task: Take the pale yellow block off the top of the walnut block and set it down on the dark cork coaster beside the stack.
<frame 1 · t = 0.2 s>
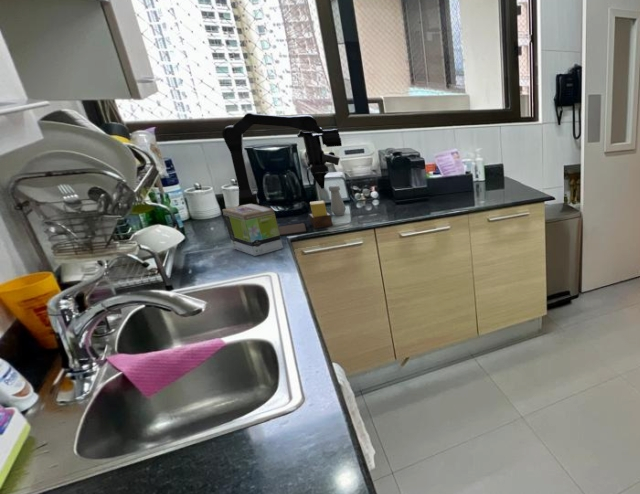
hand: (321, 186, 193), 14 cm above the worktop, tool pointing down, fingers open, 9 cm apart
walnut block: (322, 225, 191), on the worktop, touching yellow block
tea box: (258, 249, 166), on the worktop
salt shaker: (339, 214, 206), on the worktop
coaster: (288, 230, 185), on the worktop
yellow block: (319, 214, 190), point 4 cm above the worktop, touching walnut block
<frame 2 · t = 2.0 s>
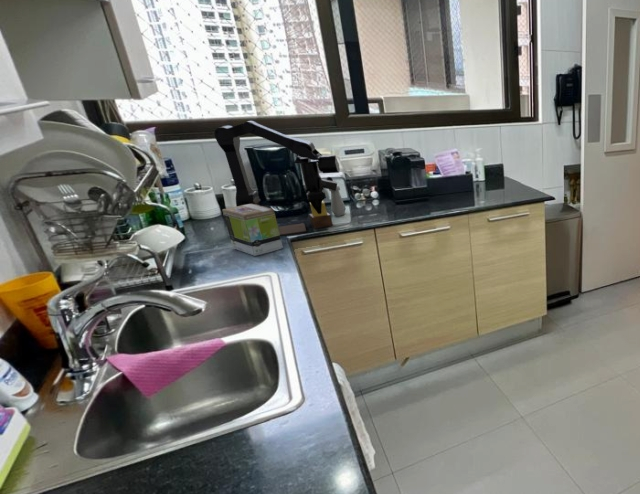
hand: (319, 212, 189), 6 cm above the worktop, tool pointing down, fingers closed on yellow block, 5 cm apart
yellow block: (319, 214, 190), point 4 cm above the worktop, touching gripper, walnut block
everything else where it was.
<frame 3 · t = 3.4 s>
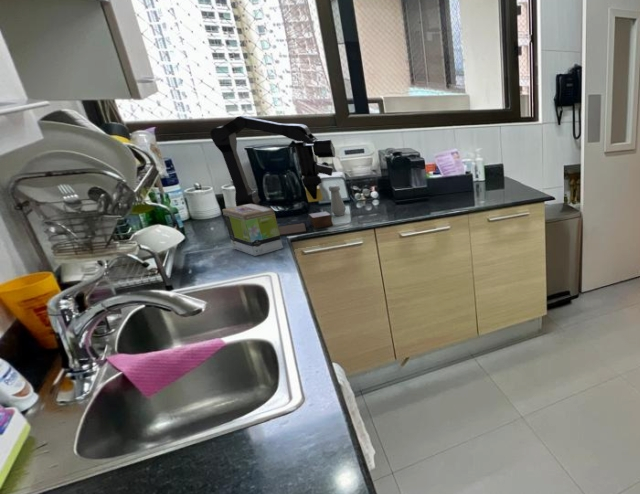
hand: (314, 197, 187), 12 cm above the worktop, tool pointing down, fingers closed on yellow block, 5 cm apart
walnut block: (322, 224, 191), on the worktop
yellow block: (315, 199, 187), point 11 cm above the worktop, touching gripper
everything else where it was.
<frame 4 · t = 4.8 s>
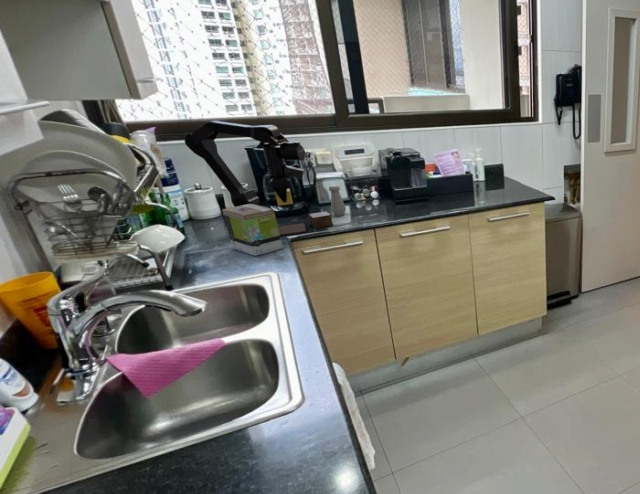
hand: (284, 200, 181), 12 cm above the worktop, tool pointing down, fingers closed on yellow block, 5 cm apart
yellow block: (285, 203, 181), point 11 cm above the worktop, touching gripper
everything else where it was.
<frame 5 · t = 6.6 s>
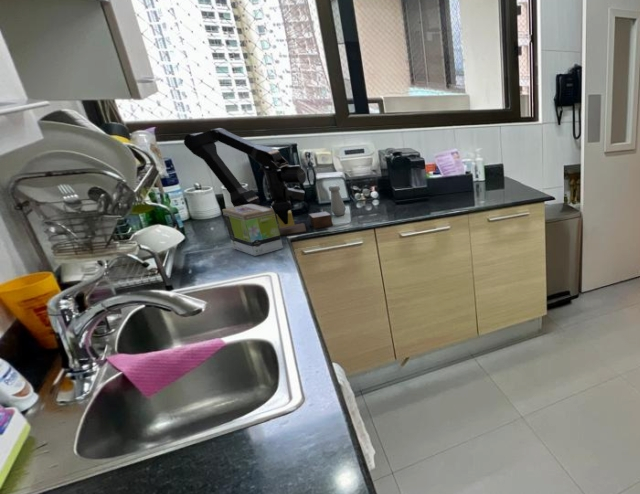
hand: (286, 222, 183), 3 cm above the worktop, tool pointing down, fingers closed on yellow block, 5 cm apart
yellow block: (286, 224, 184), point 2 cm above the worktop, touching gripper
everything else where it was.
when the fingers open (1 cm above the worktop, at t = 7.6 s): yellow block stays where it is, resting on coaster.
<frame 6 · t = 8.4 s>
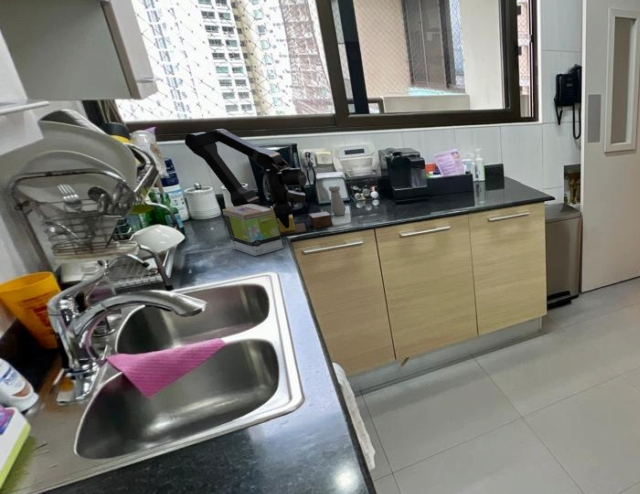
hand: (287, 224, 184), 2 cm above the worktop, tool pointing down, fingers open, 9 cm apart
yellow block: (288, 229, 184), resting on coaster
everything else where it was.
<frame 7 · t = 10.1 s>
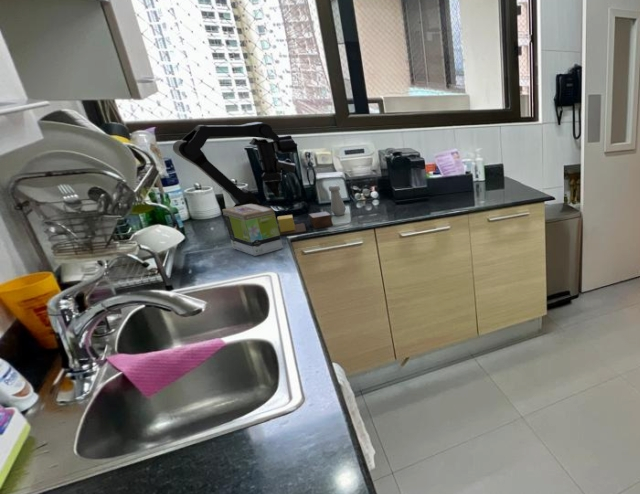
hand: (277, 194, 190), 12 cm above the worktop, tool pointing down, fingers open, 9 cm apart
nothing on the worktop moved.
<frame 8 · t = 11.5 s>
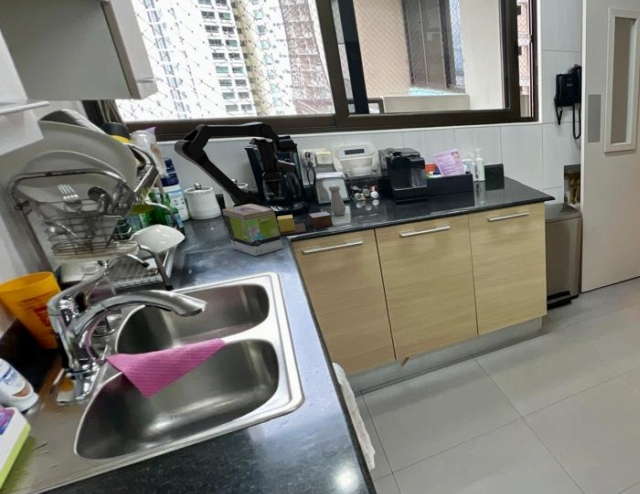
hand: (277, 193, 190), 12 cm above the worktop, tool pointing down, fingers open, 9 cm apart
nothing on the worktop moved.
at the end: yellow block inside the target area on the coaster (0.1 cm from its centre), point 0.5 cm above the coaster's base; yellow block tilted 0°; walnut block moved 0.0 cm from its start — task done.
